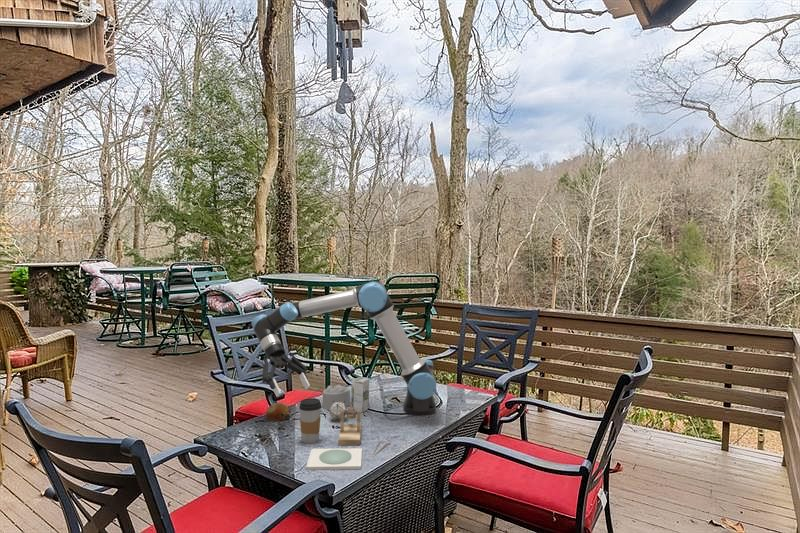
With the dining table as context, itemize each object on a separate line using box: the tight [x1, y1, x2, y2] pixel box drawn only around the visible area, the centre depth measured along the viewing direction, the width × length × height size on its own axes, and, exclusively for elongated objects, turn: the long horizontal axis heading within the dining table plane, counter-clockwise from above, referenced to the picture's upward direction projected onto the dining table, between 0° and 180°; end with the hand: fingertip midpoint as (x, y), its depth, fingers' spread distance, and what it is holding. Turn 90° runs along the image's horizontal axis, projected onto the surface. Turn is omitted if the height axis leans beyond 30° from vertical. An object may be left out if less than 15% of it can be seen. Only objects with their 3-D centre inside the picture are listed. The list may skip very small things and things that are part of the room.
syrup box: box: [351, 376, 370, 414], centre depth 209 cm, size 6×6×14 cm
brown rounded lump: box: [265, 402, 291, 422], centre depth 200 cm, size 10×10×8 cm
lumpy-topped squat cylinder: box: [322, 384, 351, 410], centre depth 216 cm, size 10×13×9 cm
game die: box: [326, 401, 348, 422], centre depth 197 cm, size 9×8×10 cm
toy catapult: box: [337, 406, 362, 446], centre depth 180 cm, size 19×8×10 cm, turn 3°
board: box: [305, 447, 363, 471], centre depth 159 cm, size 18×14×1 cm
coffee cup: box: [298, 397, 322, 444], centre depth 175 cm, size 8×8×15 cm
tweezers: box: [371, 440, 391, 459], centre depth 167 cm, size 17×5×2 cm, turn 162°
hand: (293, 391), depth 182 cm, fingers open, 13 cm apart
